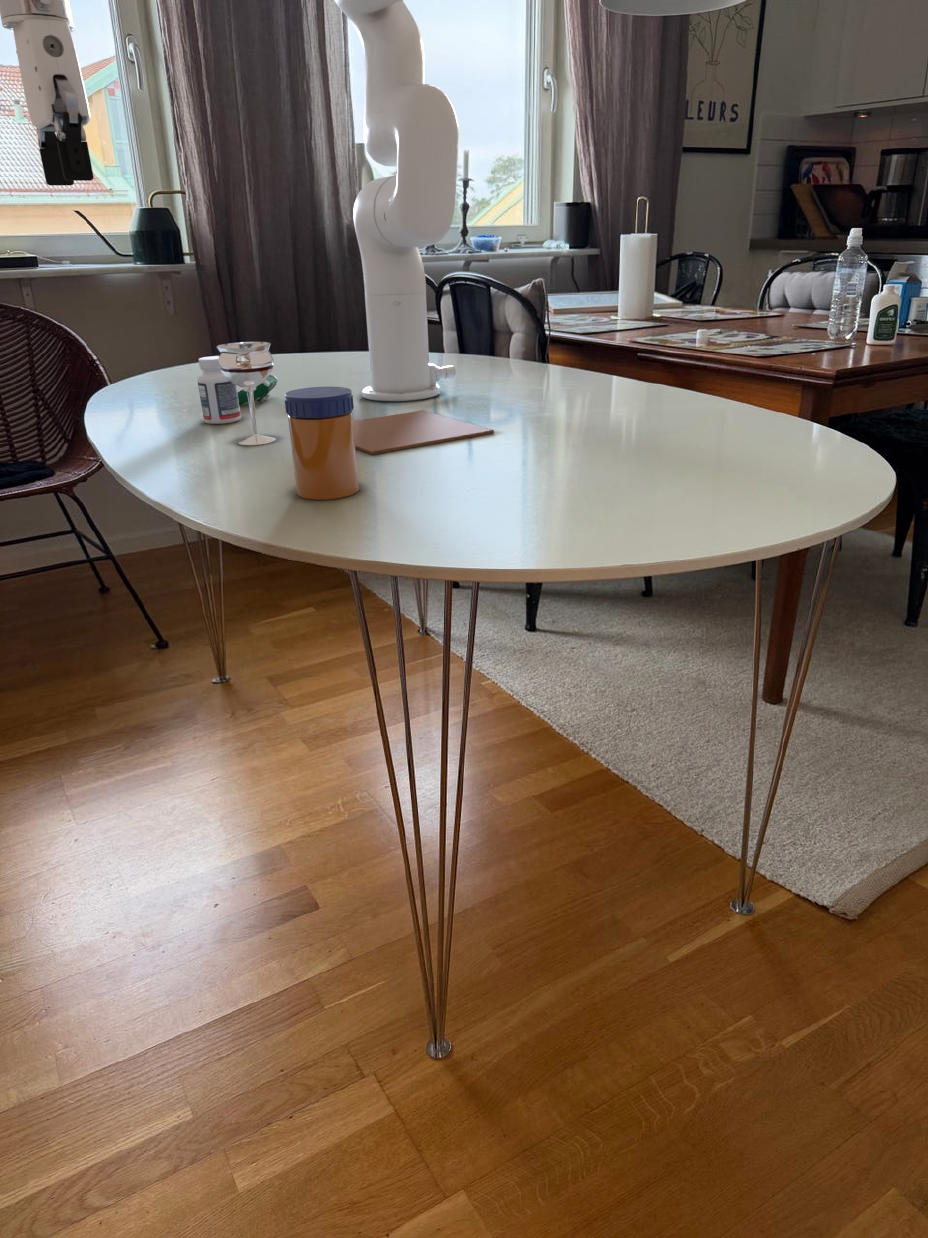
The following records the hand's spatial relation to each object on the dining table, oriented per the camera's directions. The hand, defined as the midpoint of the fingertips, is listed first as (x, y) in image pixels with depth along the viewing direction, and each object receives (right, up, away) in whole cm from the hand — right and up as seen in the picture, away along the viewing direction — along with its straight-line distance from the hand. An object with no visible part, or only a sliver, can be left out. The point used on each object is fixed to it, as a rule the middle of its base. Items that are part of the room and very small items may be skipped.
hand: (69, 182), depth 103 cm
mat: (+39, -28, +10) cm, 49 cm away
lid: (+33, -31, -19) cm, 49 cm away
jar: (+34, -39, -15) cm, 54 cm away
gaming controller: (+14, -18, +35) cm, 42 cm away
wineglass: (+21, -30, +8) cm, 37 cm away
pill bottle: (+13, -24, +21) cm, 34 cm away
